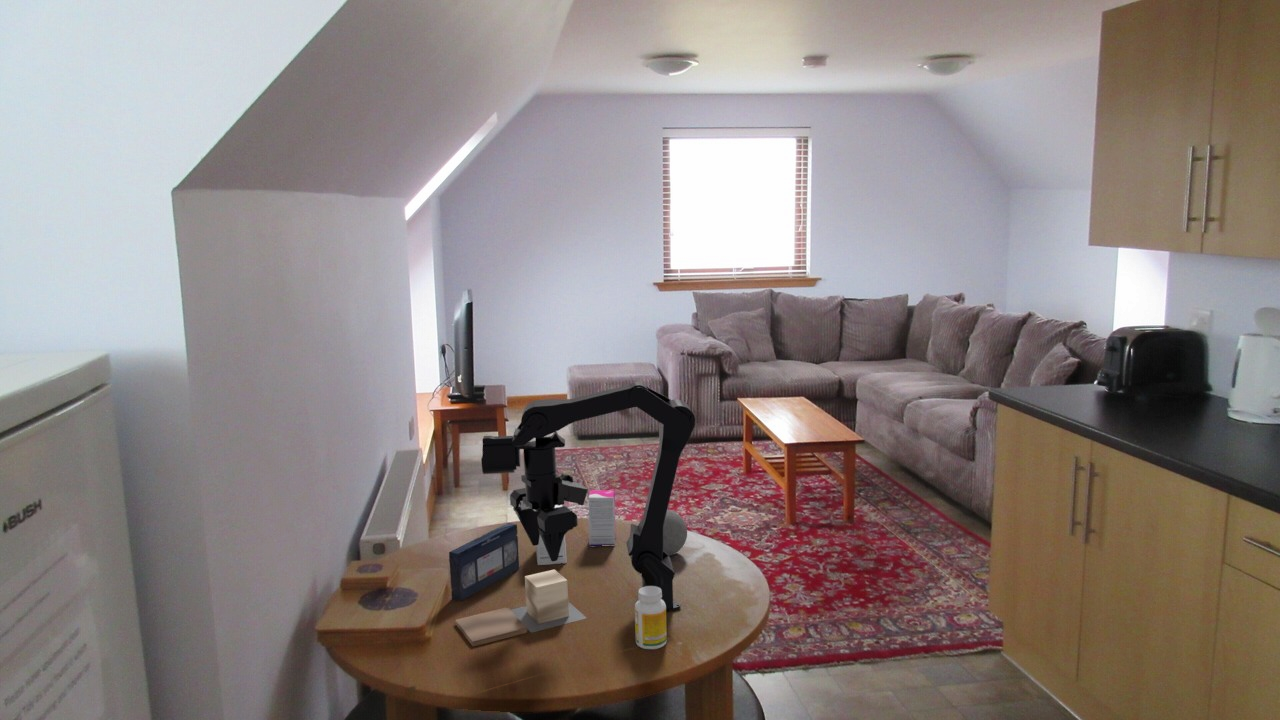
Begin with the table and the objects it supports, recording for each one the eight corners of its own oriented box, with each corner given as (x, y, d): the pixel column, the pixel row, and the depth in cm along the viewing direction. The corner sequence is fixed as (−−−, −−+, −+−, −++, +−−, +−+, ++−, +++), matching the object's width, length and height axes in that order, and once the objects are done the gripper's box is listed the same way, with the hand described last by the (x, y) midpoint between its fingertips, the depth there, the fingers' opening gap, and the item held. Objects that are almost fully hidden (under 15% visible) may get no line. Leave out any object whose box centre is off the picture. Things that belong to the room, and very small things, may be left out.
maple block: (568, 616, 168) (567, 580, 167) (538, 623, 165) (536, 587, 164) (556, 604, 173) (554, 569, 172) (526, 611, 170) (524, 576, 169)
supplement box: (615, 546, 202) (613, 497, 200) (588, 547, 202) (586, 497, 200) (616, 537, 208) (614, 489, 206) (590, 538, 208) (588, 489, 206)
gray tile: (586, 618, 167) (586, 618, 167) (530, 633, 162) (530, 632, 162) (563, 597, 176) (563, 596, 176) (509, 610, 171) (509, 609, 171)
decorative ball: (697, 554, 196) (696, 509, 194) (663, 567, 189) (661, 521, 188) (665, 542, 203) (664, 499, 202) (632, 554, 197) (630, 510, 195)
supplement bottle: (629, 643, 156) (627, 591, 155) (650, 632, 160) (648, 581, 159) (652, 653, 153) (650, 599, 151) (673, 641, 157) (671, 589, 155)
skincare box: (536, 548, 203) (534, 502, 201) (565, 546, 203) (563, 501, 202) (536, 565, 193) (533, 518, 191) (566, 563, 193) (564, 516, 191)
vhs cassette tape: (460, 602, 176) (457, 553, 174) (449, 599, 177) (446, 551, 176) (521, 569, 191) (519, 524, 189) (510, 567, 193) (508, 522, 191)
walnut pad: (527, 632, 162) (526, 627, 162) (472, 646, 157) (472, 641, 157) (507, 612, 171) (507, 607, 170) (455, 624, 166) (455, 619, 166)
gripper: (602, 476, 160) (606, 560, 163) (561, 452, 176) (565, 529, 179) (543, 486, 155) (548, 573, 158) (506, 461, 171) (511, 540, 174)
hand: (544, 552), depth 167 cm, fingers open, 9 cm apart
